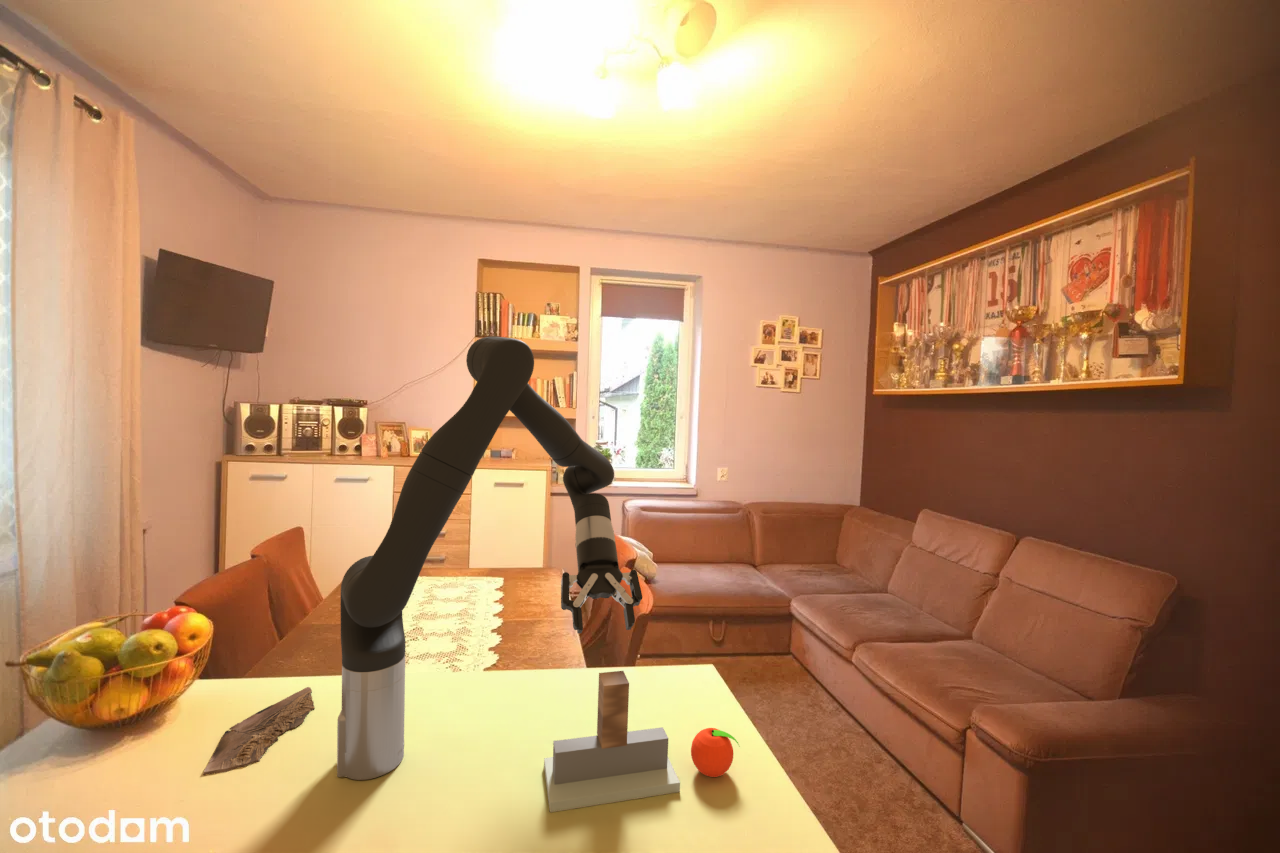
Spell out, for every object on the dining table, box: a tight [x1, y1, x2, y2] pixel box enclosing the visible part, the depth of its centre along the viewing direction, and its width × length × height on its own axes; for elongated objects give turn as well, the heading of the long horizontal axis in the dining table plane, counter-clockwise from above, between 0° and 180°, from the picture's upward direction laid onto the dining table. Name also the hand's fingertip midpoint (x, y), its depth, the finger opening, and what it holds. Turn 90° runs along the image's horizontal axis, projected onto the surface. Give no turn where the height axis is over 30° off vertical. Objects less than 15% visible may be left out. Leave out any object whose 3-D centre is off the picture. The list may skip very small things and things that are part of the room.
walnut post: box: [596, 670, 630, 749], centre depth 87 cm, size 4×4×10 cm
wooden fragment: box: [202, 686, 316, 776], centre depth 97 cm, size 26×11×1 cm, turn 176°
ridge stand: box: [543, 727, 681, 813], centre depth 87 cm, size 20×10×6 cm, turn 105°
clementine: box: [690, 727, 740, 778], centre depth 89 cm, size 8×7×7 cm
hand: (605, 630), depth 93 cm, fingers open, 8 cm apart
